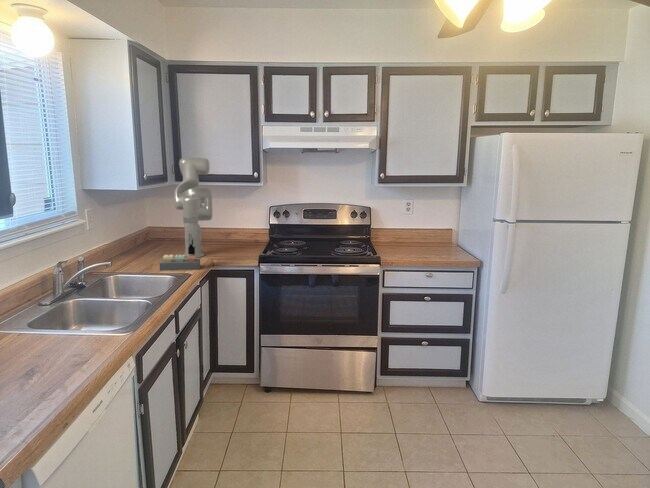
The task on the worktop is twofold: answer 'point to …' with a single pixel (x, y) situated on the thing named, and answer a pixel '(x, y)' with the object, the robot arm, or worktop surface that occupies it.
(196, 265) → the console
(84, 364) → the worktop surface
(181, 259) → the tile two
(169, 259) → the tile one
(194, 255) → the tile three
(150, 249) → the worktop surface
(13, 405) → the worktop surface
